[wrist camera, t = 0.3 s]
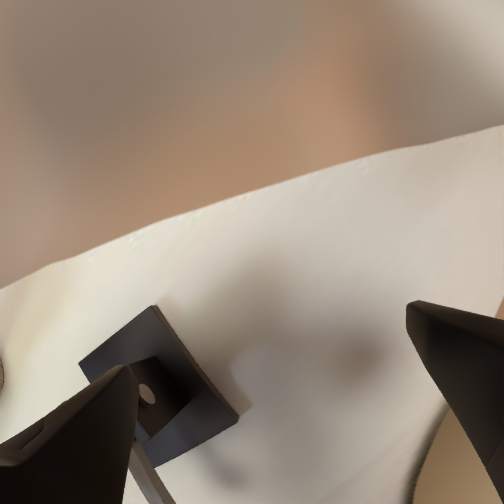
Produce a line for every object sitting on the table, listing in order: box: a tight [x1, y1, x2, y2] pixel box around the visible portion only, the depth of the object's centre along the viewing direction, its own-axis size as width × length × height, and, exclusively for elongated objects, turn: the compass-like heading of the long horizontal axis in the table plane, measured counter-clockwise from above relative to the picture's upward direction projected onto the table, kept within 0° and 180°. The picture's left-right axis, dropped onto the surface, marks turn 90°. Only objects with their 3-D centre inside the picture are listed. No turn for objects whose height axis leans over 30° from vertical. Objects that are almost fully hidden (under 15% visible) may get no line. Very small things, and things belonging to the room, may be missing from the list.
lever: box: [128, 436, 176, 504], centre depth 13 cm, size 13×3×3 cm, turn 37°
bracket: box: [58, 305, 239, 468], centre depth 18 cm, size 11×9×9 cm
